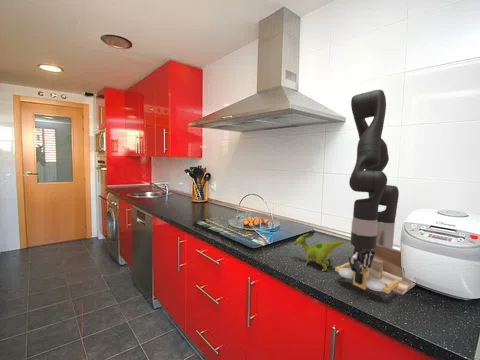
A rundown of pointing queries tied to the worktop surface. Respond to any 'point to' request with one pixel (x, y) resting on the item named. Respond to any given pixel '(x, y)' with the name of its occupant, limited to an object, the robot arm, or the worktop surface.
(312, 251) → the toy
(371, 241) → the robot arm
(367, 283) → the glasses
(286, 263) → the worktop surface
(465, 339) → the worktop surface
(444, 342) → the worktop surface
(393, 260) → the display stand
